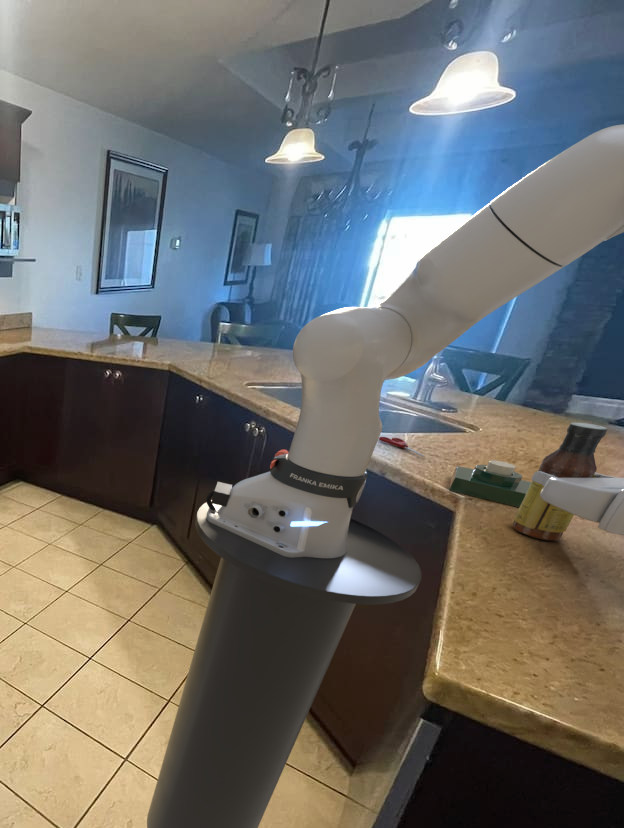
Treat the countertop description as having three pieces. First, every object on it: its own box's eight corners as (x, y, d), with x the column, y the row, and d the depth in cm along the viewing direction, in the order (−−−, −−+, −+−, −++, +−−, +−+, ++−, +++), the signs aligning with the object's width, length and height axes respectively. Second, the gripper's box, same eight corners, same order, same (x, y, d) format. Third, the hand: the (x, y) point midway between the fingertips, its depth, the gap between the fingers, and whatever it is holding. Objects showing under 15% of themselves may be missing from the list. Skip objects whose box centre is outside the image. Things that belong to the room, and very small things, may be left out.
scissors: (397, 440, 133) (399, 437, 133) (434, 459, 121) (436, 455, 120) (376, 439, 134) (378, 435, 133) (410, 457, 121) (412, 453, 121)
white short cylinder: (484, 472, 101) (489, 463, 100) (484, 467, 103) (489, 458, 103) (511, 478, 98) (516, 469, 97) (510, 473, 101) (515, 464, 100)
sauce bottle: (562, 536, 86) (627, 428, 78) (555, 546, 82) (623, 434, 74) (511, 521, 91) (568, 418, 83) (503, 529, 87) (560, 423, 79)
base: (449, 490, 103) (459, 468, 101) (451, 477, 110) (460, 457, 108) (529, 510, 96) (542, 486, 94) (526, 495, 102) (538, 473, 100)
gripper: (748, 494, 70) (624, 458, 82) (625, 494, 68) (517, 457, 80) (719, 532, 72) (603, 492, 85) (599, 533, 70) (499, 492, 83)
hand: (560, 475), depth 83 cm, fingers open, 8 cm apart
